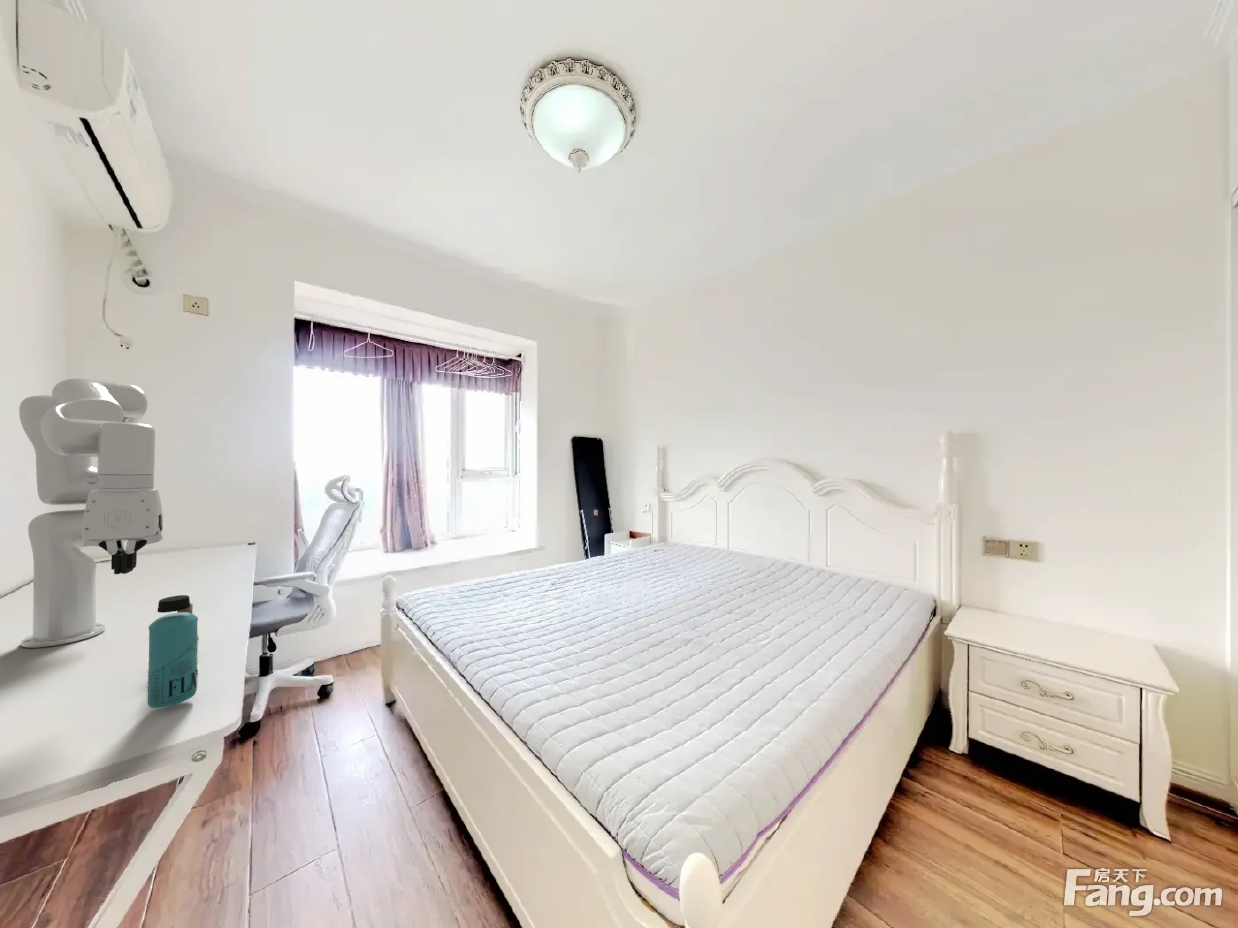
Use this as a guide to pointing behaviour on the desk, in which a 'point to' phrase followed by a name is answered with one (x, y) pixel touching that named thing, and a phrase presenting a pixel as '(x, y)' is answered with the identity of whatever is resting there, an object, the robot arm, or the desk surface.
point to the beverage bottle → (172, 654)
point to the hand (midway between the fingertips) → (123, 572)
